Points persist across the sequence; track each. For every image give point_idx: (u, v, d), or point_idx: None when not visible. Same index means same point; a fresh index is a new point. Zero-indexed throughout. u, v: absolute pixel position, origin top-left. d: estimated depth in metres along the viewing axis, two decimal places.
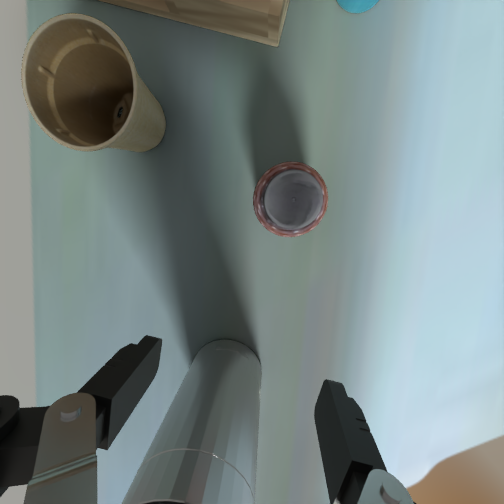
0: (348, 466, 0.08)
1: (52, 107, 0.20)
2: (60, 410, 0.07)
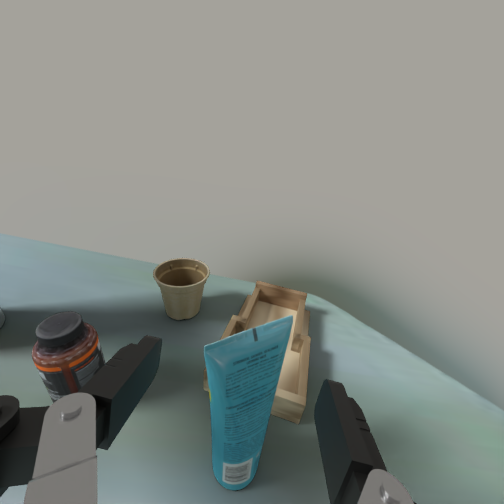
0: (348, 466, 0.08)
1: (183, 267, 0.46)
2: (60, 410, 0.07)
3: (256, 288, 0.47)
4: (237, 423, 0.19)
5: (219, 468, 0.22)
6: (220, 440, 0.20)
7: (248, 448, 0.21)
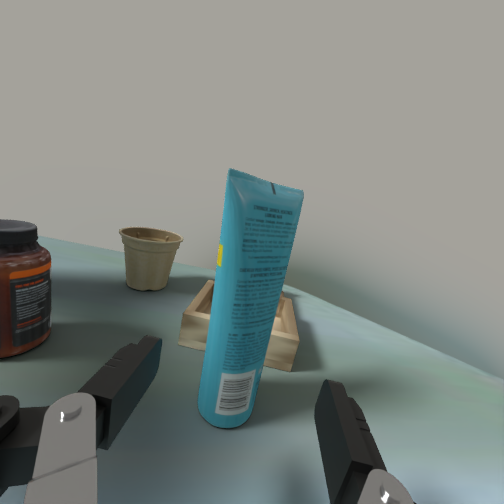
0: (348, 466, 0.08)
1: (151, 238, 0.42)
2: (60, 410, 0.07)
3: None
4: (248, 298, 0.16)
5: (213, 391, 0.18)
6: (224, 330, 0.17)
7: (254, 349, 0.18)
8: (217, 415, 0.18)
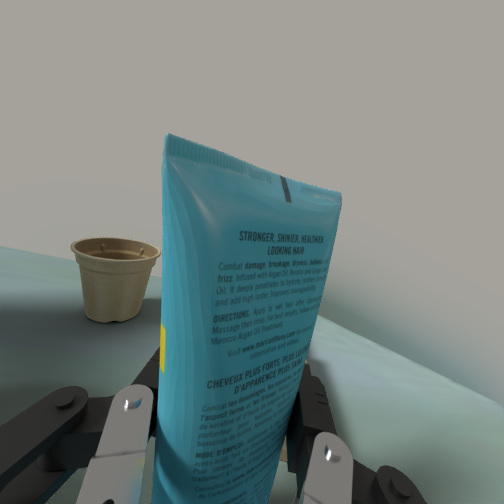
0: None
1: (122, 251, 0.33)
2: (124, 399, 0.08)
3: None
4: (229, 436, 0.07)
5: None
6: (177, 500, 0.08)
7: None
8: None
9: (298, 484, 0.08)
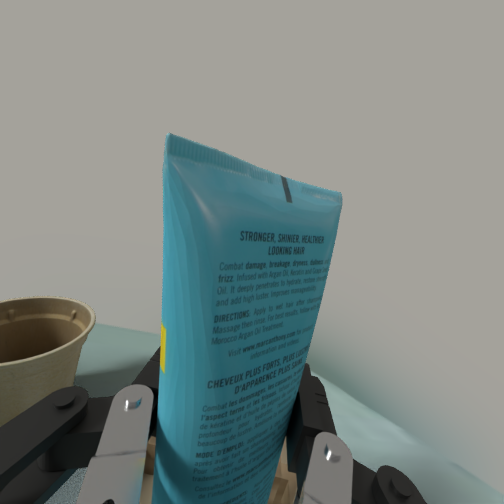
0: None
1: (45, 315, 0.23)
2: (124, 399, 0.08)
3: None
4: (229, 436, 0.07)
5: None
6: (177, 500, 0.08)
7: None
8: None
9: (298, 484, 0.08)
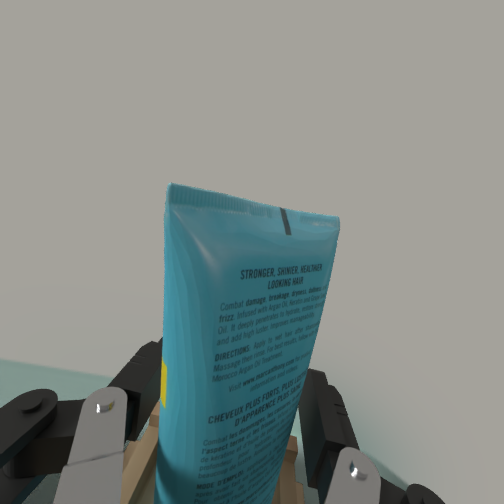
0: (323, 446, 0.08)
1: None
2: (96, 402, 0.07)
3: (150, 430, 0.16)
4: (229, 466, 0.07)
5: None
6: None
7: None
8: None
9: (321, 501, 0.08)
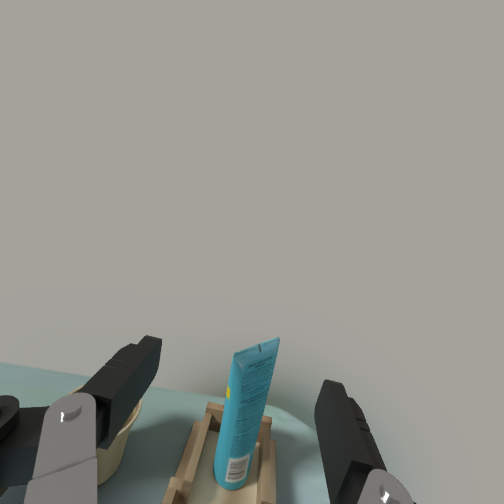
0: (348, 466, 0.08)
1: None
2: (60, 410, 0.07)
3: (207, 414, 0.36)
4: (245, 416, 0.28)
5: (224, 467, 0.29)
6: (230, 434, 0.28)
7: (249, 442, 0.29)
8: (226, 482, 0.29)
9: None
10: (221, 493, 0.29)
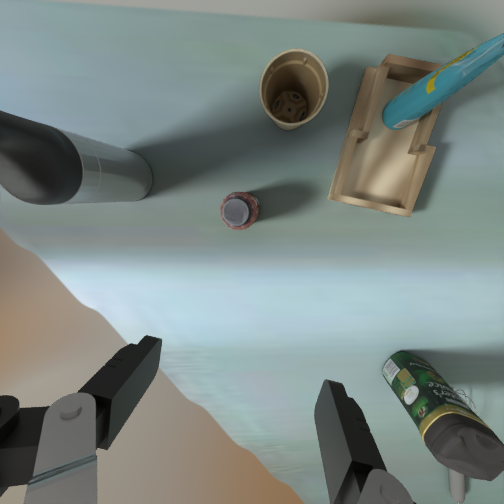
0: (348, 466, 0.08)
1: (286, 62, 0.34)
2: (60, 410, 0.07)
3: (384, 68, 0.35)
4: (437, 102, 0.29)
5: (395, 122, 0.36)
6: (414, 111, 0.31)
7: (428, 111, 0.32)
8: (393, 127, 0.38)
9: None
10: (387, 131, 0.40)
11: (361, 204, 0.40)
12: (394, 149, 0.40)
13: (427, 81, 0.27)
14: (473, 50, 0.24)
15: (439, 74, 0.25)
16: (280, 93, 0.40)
